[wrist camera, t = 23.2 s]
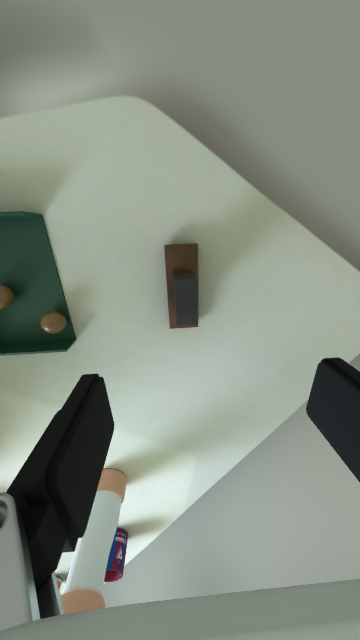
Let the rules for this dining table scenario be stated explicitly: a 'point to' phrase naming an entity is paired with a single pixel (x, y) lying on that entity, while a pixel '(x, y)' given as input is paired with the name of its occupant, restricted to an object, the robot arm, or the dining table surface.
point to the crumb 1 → (6, 297)
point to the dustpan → (30, 287)
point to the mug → (116, 556)
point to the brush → (182, 284)
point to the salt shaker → (95, 546)
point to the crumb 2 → (53, 322)
